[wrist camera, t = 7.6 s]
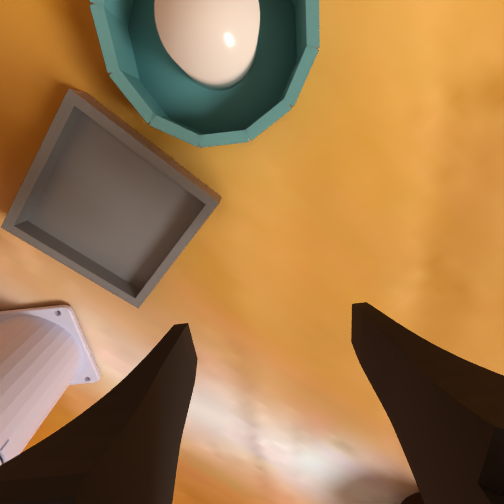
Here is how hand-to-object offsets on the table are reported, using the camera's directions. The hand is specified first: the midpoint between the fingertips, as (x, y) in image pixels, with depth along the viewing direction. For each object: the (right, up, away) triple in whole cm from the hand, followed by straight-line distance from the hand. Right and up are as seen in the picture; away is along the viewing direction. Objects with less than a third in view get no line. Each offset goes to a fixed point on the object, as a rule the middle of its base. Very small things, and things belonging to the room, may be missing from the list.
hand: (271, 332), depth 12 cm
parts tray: (-10, +7, +7) cm, 14 cm away
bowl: (-3, +15, +4) cm, 16 cm away
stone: (-3, +15, +3) cm, 16 cm away
